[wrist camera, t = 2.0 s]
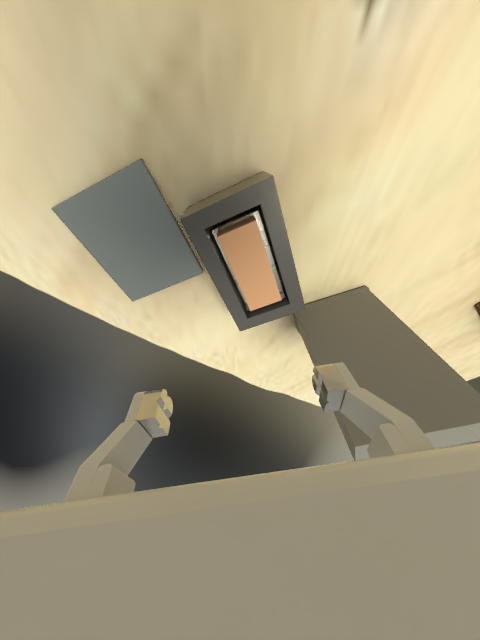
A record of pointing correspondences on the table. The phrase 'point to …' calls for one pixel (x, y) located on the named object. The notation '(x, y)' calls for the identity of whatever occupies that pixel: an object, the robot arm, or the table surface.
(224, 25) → the table surface
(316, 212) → the table surface
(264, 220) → the pocket block
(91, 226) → the mat
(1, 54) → the table surface
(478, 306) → the letter holder
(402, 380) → the grey flat-topped box
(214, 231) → the plate
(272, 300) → the tile
